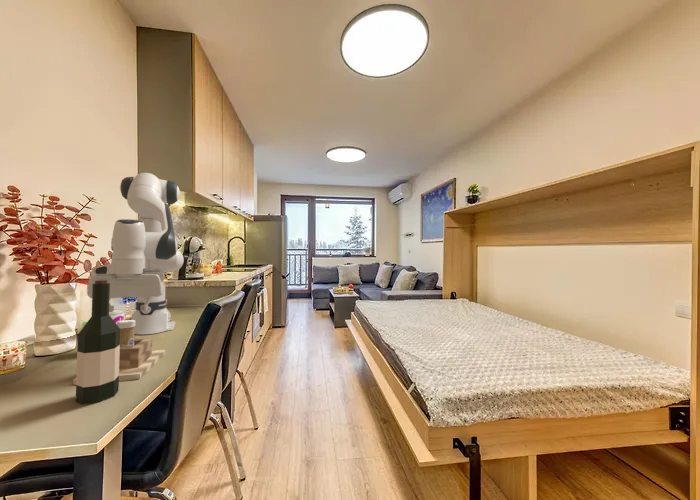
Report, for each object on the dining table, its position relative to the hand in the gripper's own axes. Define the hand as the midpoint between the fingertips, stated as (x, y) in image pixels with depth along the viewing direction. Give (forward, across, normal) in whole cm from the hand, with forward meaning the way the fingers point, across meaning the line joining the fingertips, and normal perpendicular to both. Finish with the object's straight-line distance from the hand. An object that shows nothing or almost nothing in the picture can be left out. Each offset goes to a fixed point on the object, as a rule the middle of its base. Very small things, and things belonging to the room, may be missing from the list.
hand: (127, 311), depth 93 cm
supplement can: (+18, +13, -19) cm, 30 cm away
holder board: (+18, 0, 0) cm, 18 cm away
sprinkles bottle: (+17, 0, 0) cm, 17 cm away
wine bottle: (+19, -2, +20) cm, 27 cm away
